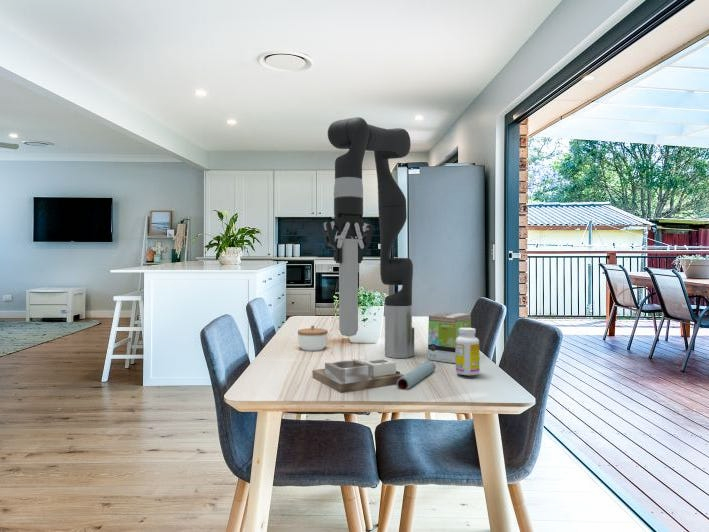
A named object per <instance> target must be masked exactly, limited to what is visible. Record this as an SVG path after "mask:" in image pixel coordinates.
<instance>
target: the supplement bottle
mask: <svg viewBox="0 0 709 532" xmlns="http://www.w3.org/2000/svg"><path fill="white" fill-rule="evenodd" d="M476 332H477V329H476V328H474V327H471V328H459V334H460V336H459V337H457V338H456V363H455V371H456V373H457V374H459V375H462V376H463V375H464V376H476V375H479V374H480V339H479V338H478V337H476Z"/></svg>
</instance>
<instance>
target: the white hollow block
mask: <svg viewBox="0 0 709 532" xmlns="http://www.w3.org/2000/svg"><path fill="white" fill-rule="evenodd" d="M363 363H366V364H369V365H371V366H372V375H373V377H377V376H384V375H391V374H396V371H397V362H396V361H392V360H390V359H386V358H384V359H375V360H367V361H363Z"/></svg>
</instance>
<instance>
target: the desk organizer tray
mask: <svg viewBox="0 0 709 532" xmlns="http://www.w3.org/2000/svg"><path fill="white" fill-rule="evenodd" d="M404 375H405V374H404V373H401V372H400V371H399V370H396V374H391V375H384V376H377V377H373V375H372V366H371V365H369V364H366V363H364V361H361V360H357V359H347V360H339V361H331V362H330V361H329V362H324V368H319V369H312V378H313V379H314V380H317V381H319V382H321V383H322V384H324V385H326V386H328V387H329V388H332V389H333V390H335V391H337V392H339V393H347V392H353V391H361V390H365V389H372V388H378V387H386V386H391V385H397V380H398V379H399V378H401V377H402V376H404Z"/></svg>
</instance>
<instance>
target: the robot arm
mask: <svg viewBox="0 0 709 532" xmlns="http://www.w3.org/2000/svg"><path fill="white" fill-rule="evenodd" d="M327 138H328V142H329V143H330V144H331V145H332V146H333V147H334V148H336V149H339V150H348V151H347V152H346V153H344V154H341V155H340V156H338V157H336V159H335V160H334V186H333V216H334V217H333V220H332V221H325V222H323V223H322V229H323V233H324V238H325V243H326V245H327V246H328V247H332V248H333V261H334V262H335V264H339V263H342V249H341V246H342V243H343V240H344V239H346V237H349V238H350V239H359V242H358V264H361V263H362V262H363V259H364V248H367V247H370V245H371V241H372V240H371V239H372V236H373V230H374V225H373V223H371V224H370V223H366V222H365V221H364V218H363V216H364V184H363V163H364V158H365V154H366V151H368V152H373V154H374V162H375V163H374V164H375V170H376V178H377V179H376V180H377V203H378V204H377V205H378V206H377V207H378V222H379V223H378V224H379V235H380V236H379V237H380V238H379V239H380V240H379V241H380V252H379V254H380V256H379V257H380V262H379V263H380V264H379V265H380V266H379V267H380V268H379V270H380V279H381V280H380V281H381V283H382V284H383V285H386V286H401V289H400V290H399V291H397V292H395V293H393V294H390V295H387V296H385V297H384V356H385V357H387V358H392V359H393V358H394V359H406V358H411V357H413V356H415V327H413V276H414V264H413V261H412V259H410V258H408V257H391V253H392V248H393V246H394V244H395V241H396V239H397V238H398V236H399V234H400V233H401V231H402V229H403V228H404V226H405V224H406V222H407V219H408V218H407V217H408V216H407V215H408V214H407V200H406V199H407V198H406V197H405V194H404V192H403V190H402V189H401V187H400V186H399V184H398V183H397V182H396V179H394V176H393V175H392V172H391V168H390V164H389V160H390V159H394V160H395V159H402V158H404V157H407V156H408V154H409V153H410V151H411V137H410V134H409V132H408V131H407V130H406V129H404V128H400V127H399V128H397V127H395V128H384V127H379V126H375V125H372V124H368V123H367V121H366V120H365V119H364V118H363V117H361V116H360V117H359V116H358V117H357V116H356V117H351V118H345V119H338V120H335V121H333V122H331V124H330V125H329V126H328V129H327ZM334 228H335V230H336V234H335V235H334V231H333V230H334ZM361 230H362V231H363V235H362V232H361Z"/></svg>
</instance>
